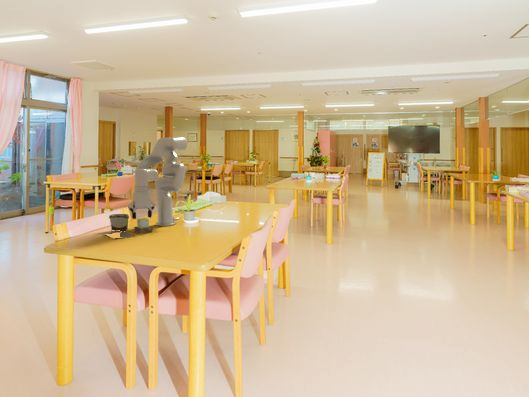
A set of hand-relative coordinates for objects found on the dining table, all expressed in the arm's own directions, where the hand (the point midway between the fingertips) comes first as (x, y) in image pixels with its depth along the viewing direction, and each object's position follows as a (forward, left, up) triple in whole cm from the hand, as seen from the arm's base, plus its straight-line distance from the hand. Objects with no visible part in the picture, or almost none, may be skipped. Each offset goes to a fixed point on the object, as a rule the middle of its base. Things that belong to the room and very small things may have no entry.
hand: (142, 218), depth 235 cm
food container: (+7, -14, -9) cm, 18 cm away
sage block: (-1, 0, -9) cm, 9 cm away
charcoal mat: (+14, 0, -9) cm, 17 cm away
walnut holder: (-1, 0, -9) cm, 9 cm away
